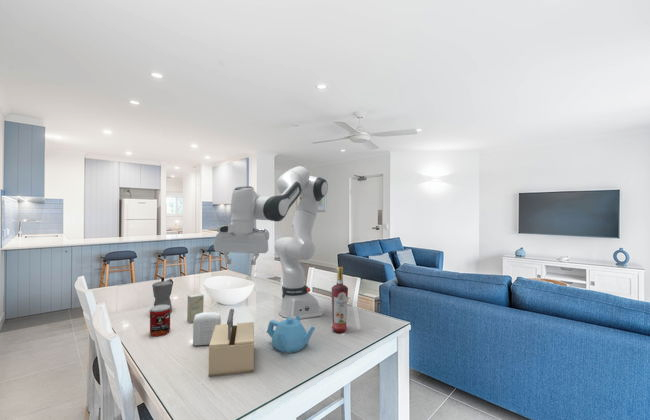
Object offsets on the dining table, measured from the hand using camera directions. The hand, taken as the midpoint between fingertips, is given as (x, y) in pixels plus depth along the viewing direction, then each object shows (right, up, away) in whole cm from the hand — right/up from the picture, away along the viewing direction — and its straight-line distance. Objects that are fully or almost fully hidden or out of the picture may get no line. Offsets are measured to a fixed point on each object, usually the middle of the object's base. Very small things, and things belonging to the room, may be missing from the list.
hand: (241, 264), depth 114 cm
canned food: (-39, -32, +14) cm, 52 cm away
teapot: (+19, -33, +3) cm, 38 cm away
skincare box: (-30, -32, +29) cm, 52 cm away
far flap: (-4, -23, -9) cm, 25 cm away
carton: (0, -32, -9) cm, 33 cm away
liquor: (+39, -33, +18) cm, 54 cm away
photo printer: (-15, -32, +4) cm, 36 cm away
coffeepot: (-51, -32, +40) cm, 72 cm away
